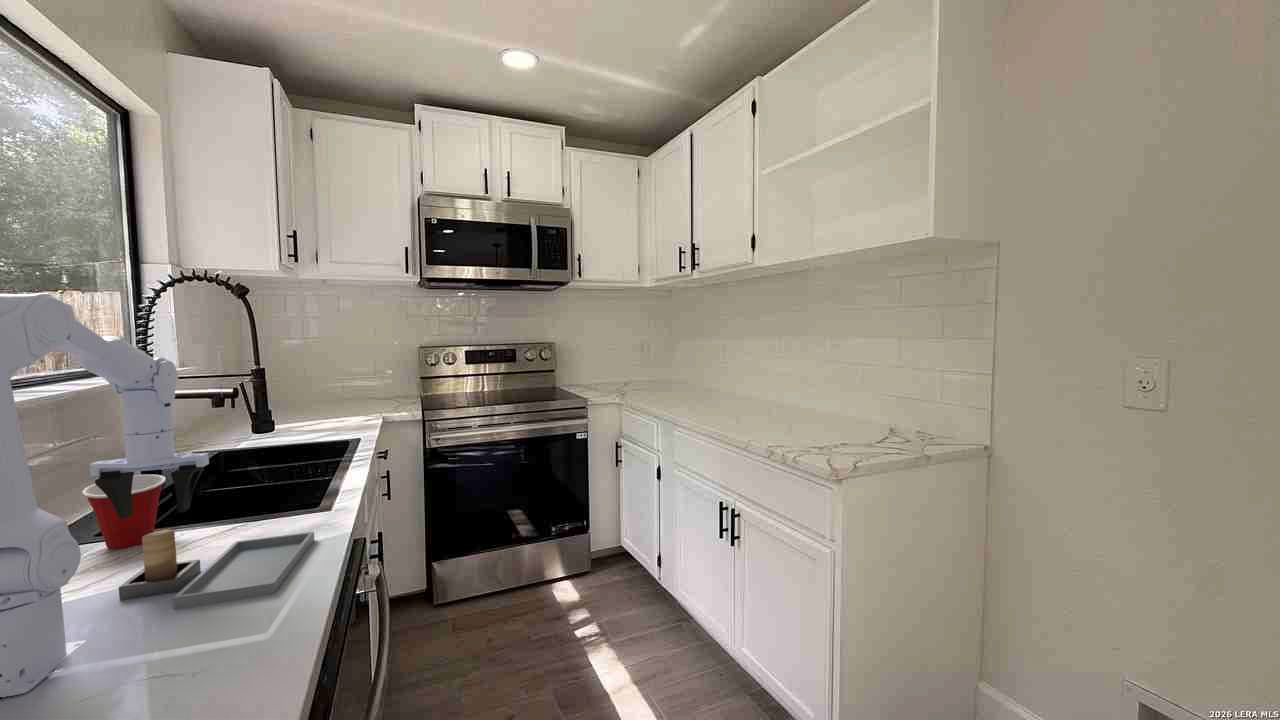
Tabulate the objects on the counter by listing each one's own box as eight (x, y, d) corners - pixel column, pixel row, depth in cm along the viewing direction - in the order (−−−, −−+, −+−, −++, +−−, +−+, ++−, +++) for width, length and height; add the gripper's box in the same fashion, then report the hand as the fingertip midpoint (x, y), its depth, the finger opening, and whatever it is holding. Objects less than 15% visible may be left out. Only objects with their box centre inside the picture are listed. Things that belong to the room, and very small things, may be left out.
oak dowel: (170, 588, 77) (166, 537, 76) (140, 592, 75) (136, 540, 75) (183, 577, 80) (179, 528, 79) (154, 581, 79) (150, 531, 78)
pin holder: (177, 595, 76) (176, 579, 75) (120, 604, 73) (118, 587, 73) (200, 574, 82) (199, 559, 82) (148, 582, 80) (147, 566, 80)
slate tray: (274, 597, 75) (273, 583, 75) (174, 613, 71) (173, 597, 71) (314, 543, 94) (313, 531, 94) (237, 553, 90) (236, 541, 90)
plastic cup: (86, 565, 86) (80, 496, 85) (88, 546, 94) (82, 483, 93) (172, 544, 94) (168, 481, 93) (167, 529, 102) (163, 470, 101)
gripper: (215, 424, 88) (220, 500, 89) (108, 430, 84) (114, 511, 84) (194, 431, 82) (200, 514, 82) (77, 439, 77) (84, 526, 78)
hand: (155, 513), depth 83 cm, fingers open, 7 cm apart
